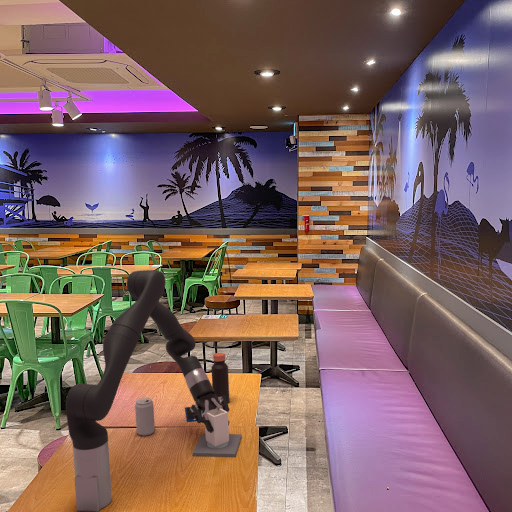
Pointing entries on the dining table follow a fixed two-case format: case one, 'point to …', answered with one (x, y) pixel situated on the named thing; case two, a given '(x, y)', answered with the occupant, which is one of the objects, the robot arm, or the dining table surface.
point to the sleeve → (218, 427)
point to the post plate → (217, 447)
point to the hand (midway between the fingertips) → (219, 428)
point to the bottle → (220, 376)
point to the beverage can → (144, 416)
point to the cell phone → (190, 415)
